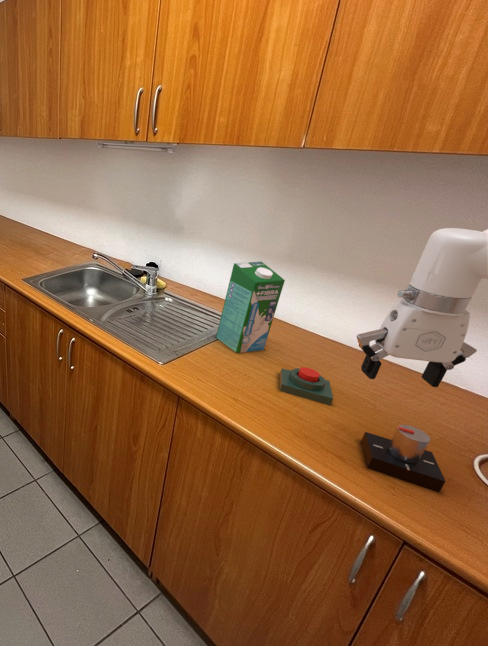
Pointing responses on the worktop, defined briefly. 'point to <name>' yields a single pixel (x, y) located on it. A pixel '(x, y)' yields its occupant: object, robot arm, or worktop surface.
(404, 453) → the dial
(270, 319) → the milk carton
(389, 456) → the dial panel
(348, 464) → the worktop surface
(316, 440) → the worktop surface
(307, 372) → the button
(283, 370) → the button block
